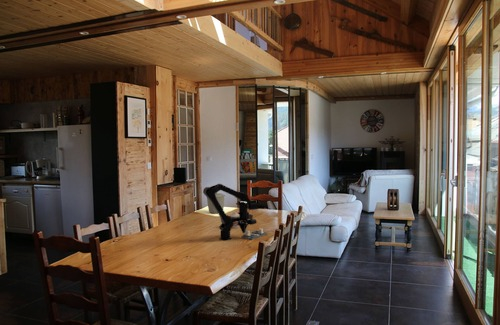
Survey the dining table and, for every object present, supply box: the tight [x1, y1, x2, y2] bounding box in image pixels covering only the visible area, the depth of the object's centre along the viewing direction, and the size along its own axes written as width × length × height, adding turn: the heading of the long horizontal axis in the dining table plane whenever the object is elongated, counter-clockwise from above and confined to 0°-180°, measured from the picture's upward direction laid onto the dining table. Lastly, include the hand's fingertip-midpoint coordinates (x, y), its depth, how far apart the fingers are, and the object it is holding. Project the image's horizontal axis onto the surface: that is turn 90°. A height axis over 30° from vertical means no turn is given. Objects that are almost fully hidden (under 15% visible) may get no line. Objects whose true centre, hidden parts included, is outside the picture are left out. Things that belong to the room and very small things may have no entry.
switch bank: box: [241, 230, 268, 241], centre depth 270 cm, size 18×9×2 cm, turn 142°
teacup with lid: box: [229, 211, 241, 229], centre depth 301 cm, size 12×9×12 cm
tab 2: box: [258, 228, 265, 233], centre depth 272 cm, size 3×3×3 cm
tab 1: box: [244, 229, 251, 236], centre depth 267 cm, size 3×3×3 cm
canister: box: [206, 192, 226, 215], centre depth 367 cm, size 18×18×21 cm
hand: (243, 232), depth 269 cm, fingers closed
